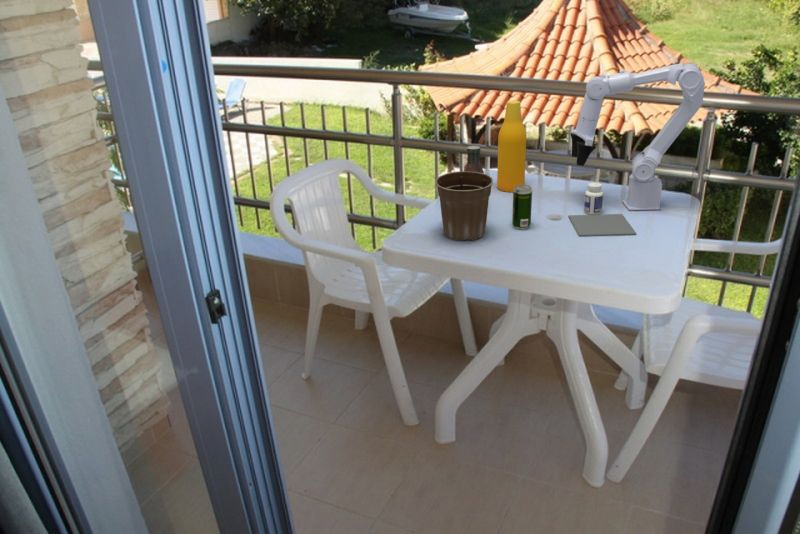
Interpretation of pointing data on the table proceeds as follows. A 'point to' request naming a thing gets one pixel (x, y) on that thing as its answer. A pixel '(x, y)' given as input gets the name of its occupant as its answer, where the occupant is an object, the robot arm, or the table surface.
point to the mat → (601, 225)
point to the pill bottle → (593, 199)
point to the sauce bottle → (473, 160)
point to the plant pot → (464, 203)
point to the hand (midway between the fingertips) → (577, 160)
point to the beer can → (522, 207)
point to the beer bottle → (511, 149)
